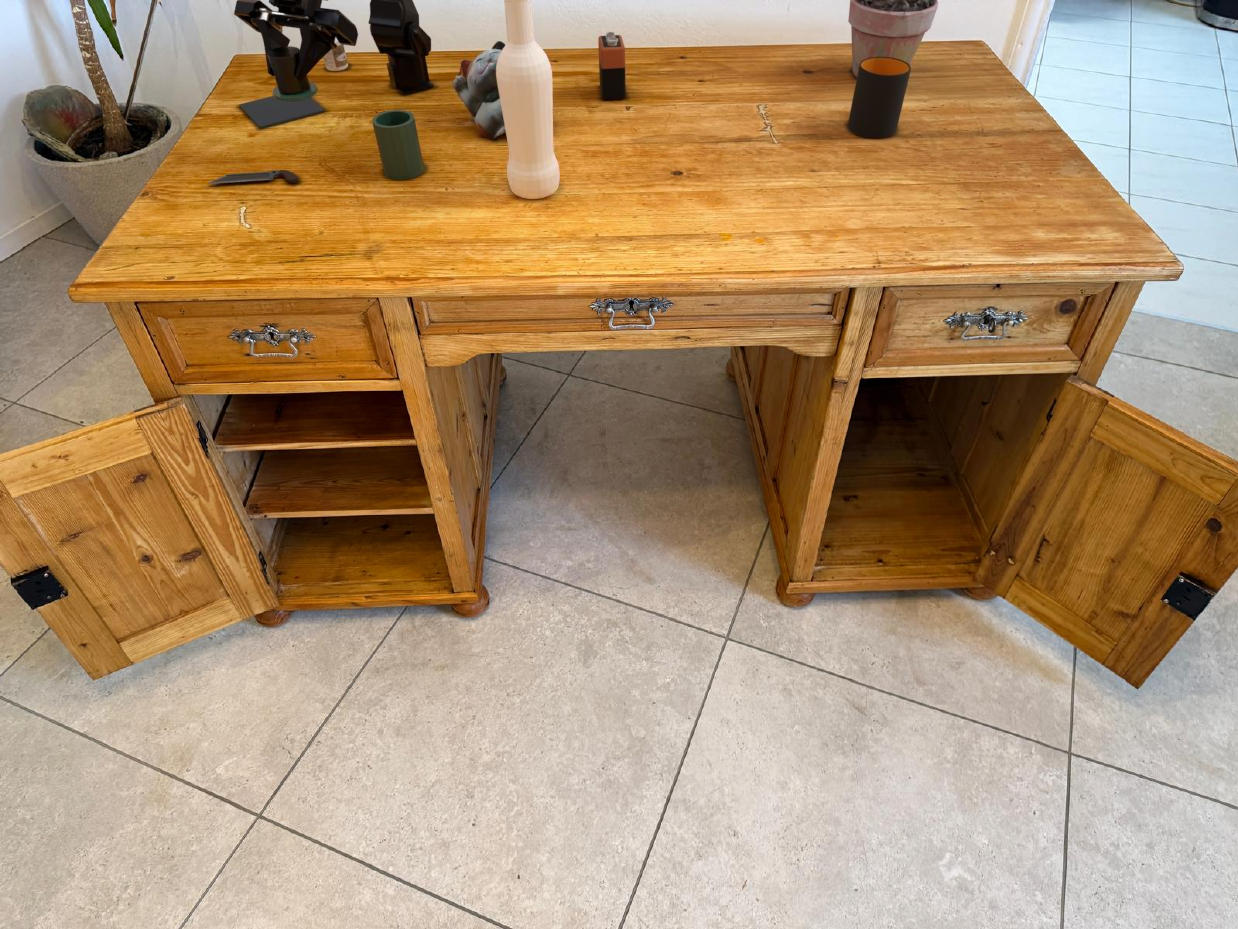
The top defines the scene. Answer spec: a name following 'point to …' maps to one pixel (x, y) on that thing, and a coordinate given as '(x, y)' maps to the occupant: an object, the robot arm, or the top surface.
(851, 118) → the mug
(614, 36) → the battery
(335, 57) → the pill bottle
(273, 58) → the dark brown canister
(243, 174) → the knife
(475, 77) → the lucky cat figurine
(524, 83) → the bottle
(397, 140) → the can
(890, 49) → the potted plant
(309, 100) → the mat
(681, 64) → the top surface
